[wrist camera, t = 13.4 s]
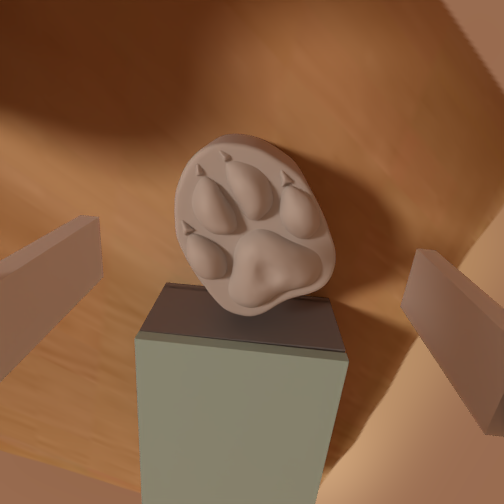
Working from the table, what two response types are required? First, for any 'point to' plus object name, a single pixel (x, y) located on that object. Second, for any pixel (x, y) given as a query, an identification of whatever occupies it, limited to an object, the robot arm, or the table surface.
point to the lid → (233, 419)
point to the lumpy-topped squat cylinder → (251, 225)
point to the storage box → (245, 320)
